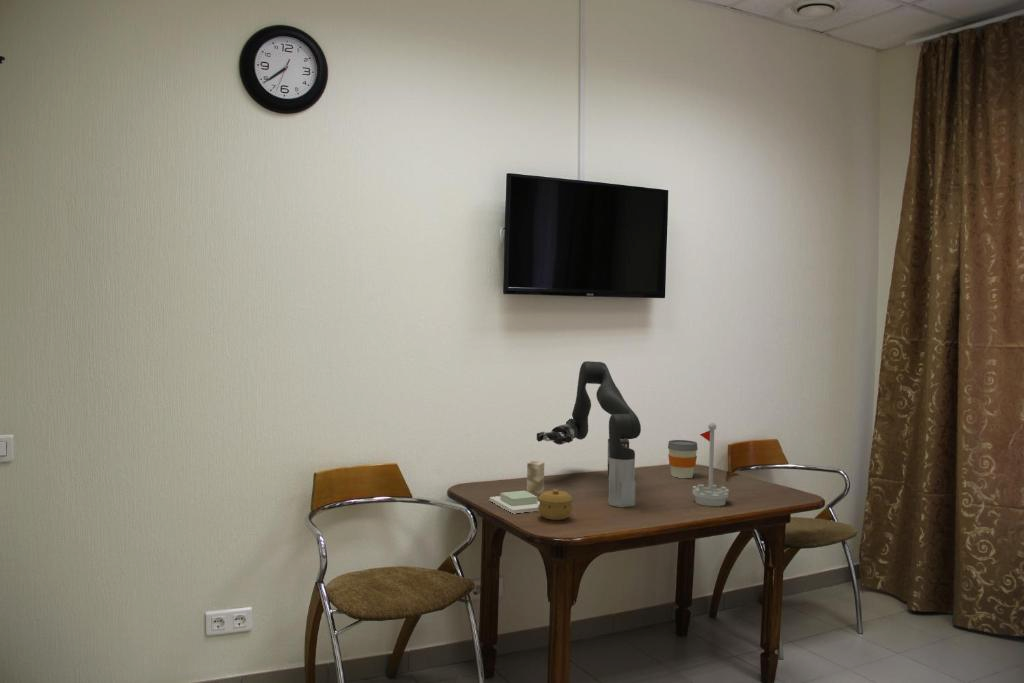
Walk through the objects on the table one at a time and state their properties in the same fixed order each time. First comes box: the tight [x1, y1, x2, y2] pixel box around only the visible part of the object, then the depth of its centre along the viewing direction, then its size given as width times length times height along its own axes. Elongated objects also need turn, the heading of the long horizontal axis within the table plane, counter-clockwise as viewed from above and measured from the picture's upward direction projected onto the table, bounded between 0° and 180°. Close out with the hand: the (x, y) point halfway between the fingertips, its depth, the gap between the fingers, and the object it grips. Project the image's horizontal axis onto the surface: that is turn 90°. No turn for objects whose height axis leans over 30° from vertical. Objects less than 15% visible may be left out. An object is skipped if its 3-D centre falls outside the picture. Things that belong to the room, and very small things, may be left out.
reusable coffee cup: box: [667, 439, 699, 479], centre depth 332 cm, size 13×13×15 cm
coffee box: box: [606, 438, 630, 479], centre depth 328 cm, size 9×6×16 cm
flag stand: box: [692, 422, 730, 507], centre depth 287 cm, size 13×13×30 cm
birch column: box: [526, 460, 545, 495], centre depth 296 cm, size 5×5×12 cm
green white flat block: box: [489, 490, 540, 515], centre depth 277 cm, size 20×14×4 cm
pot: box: [537, 488, 574, 521], centre depth 261 cm, size 12×12×10 cm
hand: (548, 439), depth 306 cm, fingers open, 8 cm apart
